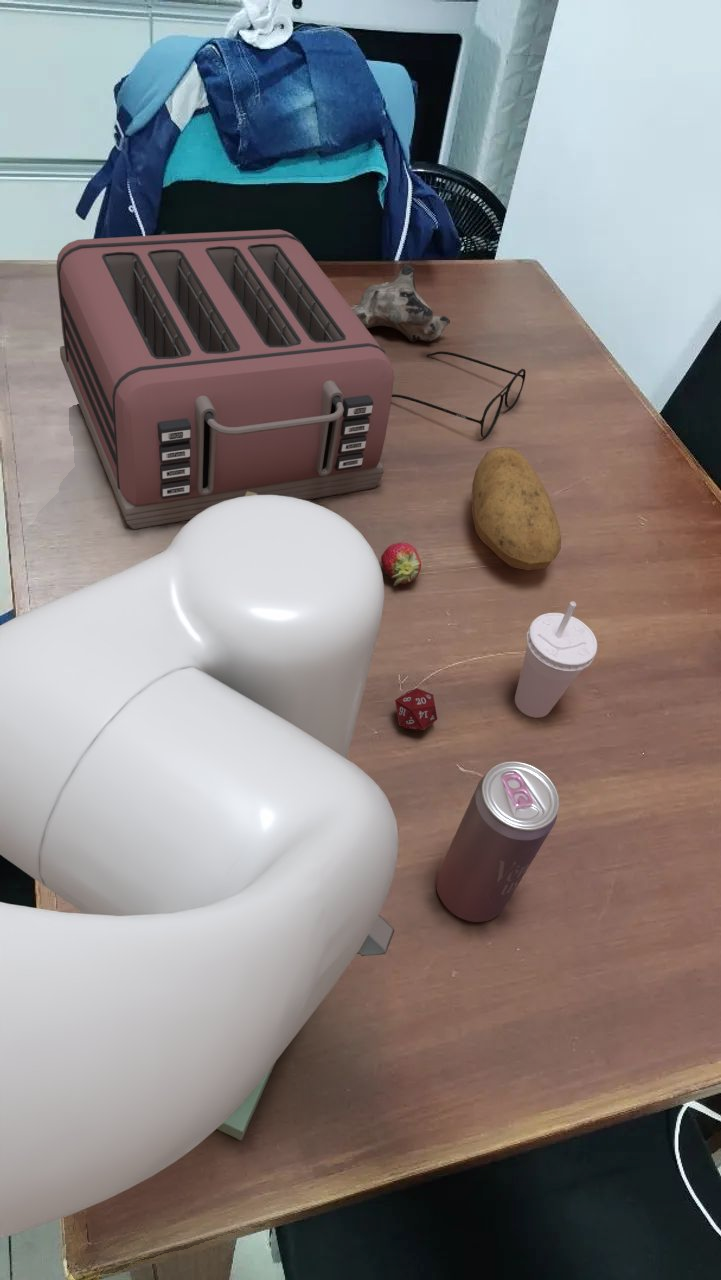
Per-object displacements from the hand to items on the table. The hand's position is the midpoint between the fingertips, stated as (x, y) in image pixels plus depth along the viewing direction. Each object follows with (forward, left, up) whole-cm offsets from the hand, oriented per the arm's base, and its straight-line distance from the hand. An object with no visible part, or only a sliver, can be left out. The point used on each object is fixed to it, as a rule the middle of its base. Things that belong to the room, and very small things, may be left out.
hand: (233, 939), depth 51 cm
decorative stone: (+98, +23, -18) cm, 102 cm away
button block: (0, 0, -18) cm, 18 cm away
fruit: (+51, +5, -18) cm, 54 cm away
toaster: (+63, +32, -18) cm, 73 cm away
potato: (+62, -4, -18) cm, 65 cm away
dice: (+33, -3, -18) cm, 38 cm away
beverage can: (+19, -13, -18) cm, 29 cm away
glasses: (+87, +10, -18) cm, 89 cm away
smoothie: (+41, -13, -18) cm, 47 cm away
